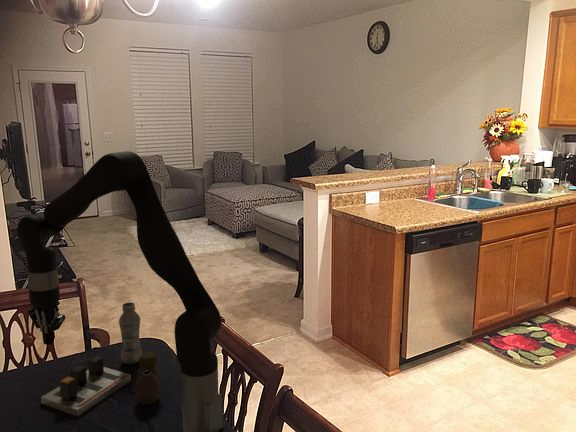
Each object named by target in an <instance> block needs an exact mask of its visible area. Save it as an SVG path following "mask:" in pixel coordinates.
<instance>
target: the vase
mask: <svg viewBox="0 0 576 432" xmlns="http://www.w3.org/2000/svg"><path fill="white" fill-rule="evenodd" d="M134 392H135V393H134V394H135V398H136V400H137V401H138V402H139V403H140V404H142V405H151V404H154V403H156V402H157V400H158V398H159V397H160V394H161V383H160V380H159V378H158V379H157V378H156V377H155V376H154V375H153V374H152V372H151V371H144V372H143V373H142V375H141V377H140V376H139V378H138V380H137V381H136V382H135V387H134Z"/></svg>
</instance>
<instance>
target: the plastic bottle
mask: <svg viewBox="0 0 576 432" xmlns="http://www.w3.org/2000/svg"><path fill="white" fill-rule="evenodd" d="M121 307H122V314H121V315H120V317H119V319H118V325H119V329H120V335H121V351H120V359H121V360H120V361H121V362H122V363H123V364H125V365H134V364H136V363H137V364H138V363H139V357H140V355H142V354H143V349H142V347H141V342H140V341H141V340H140V325H141V317H140V315H139V314H138V312H136V306H135V303H134V302H125V303H123V304H122V306H121Z"/></svg>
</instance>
